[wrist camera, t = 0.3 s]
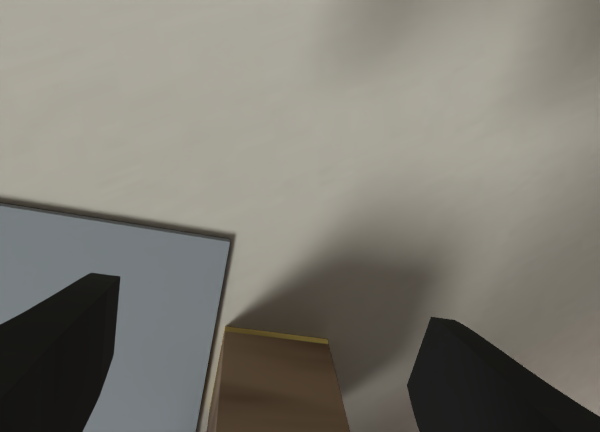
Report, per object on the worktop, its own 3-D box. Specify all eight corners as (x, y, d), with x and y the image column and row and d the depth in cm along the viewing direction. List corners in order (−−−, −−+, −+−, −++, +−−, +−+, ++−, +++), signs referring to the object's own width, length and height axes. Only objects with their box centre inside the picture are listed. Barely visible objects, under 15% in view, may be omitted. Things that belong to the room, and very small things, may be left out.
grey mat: (187, 473, 25) (187, 478, 25) (-103, 452, 23) (-107, 457, 22) (230, 239, 20) (229, 242, 20) (-131, 182, 18) (-137, 184, 18)
